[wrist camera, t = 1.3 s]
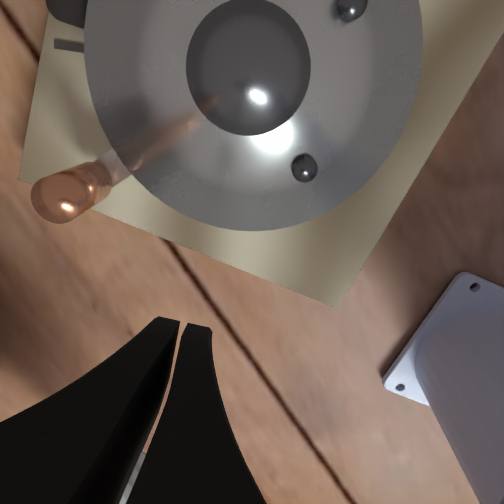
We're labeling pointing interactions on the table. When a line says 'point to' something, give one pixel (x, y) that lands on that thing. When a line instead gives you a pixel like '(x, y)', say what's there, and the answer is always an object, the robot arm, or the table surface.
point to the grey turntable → (242, 105)
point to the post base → (286, 239)
